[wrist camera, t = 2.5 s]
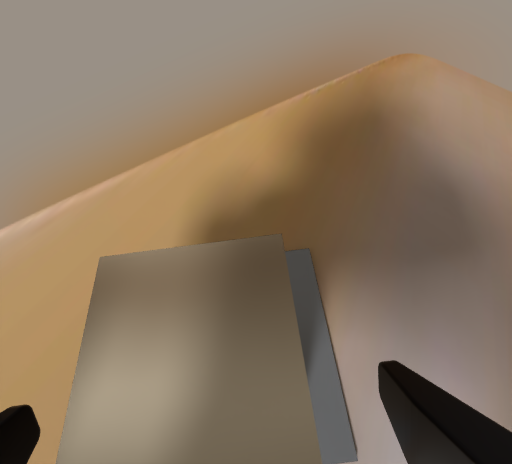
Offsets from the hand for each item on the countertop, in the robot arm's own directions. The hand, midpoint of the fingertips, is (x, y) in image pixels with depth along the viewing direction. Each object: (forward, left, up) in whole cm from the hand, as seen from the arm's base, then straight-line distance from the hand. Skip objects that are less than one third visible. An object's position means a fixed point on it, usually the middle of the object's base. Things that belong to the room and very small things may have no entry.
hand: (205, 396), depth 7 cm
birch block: (+1, -1, -8) cm, 8 cm away
